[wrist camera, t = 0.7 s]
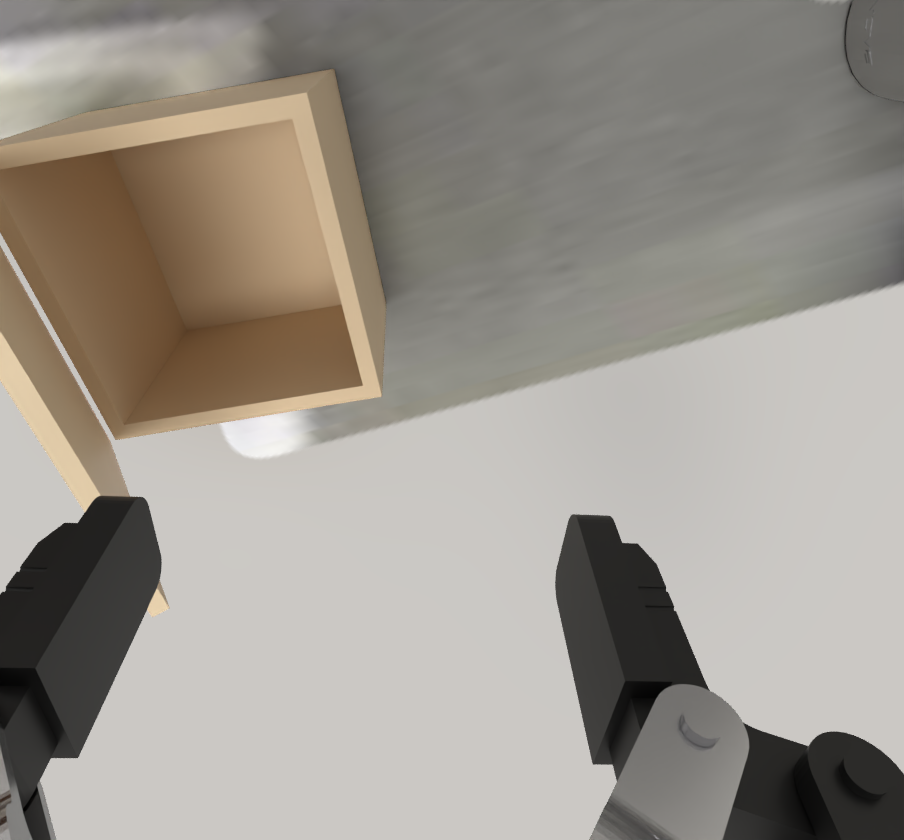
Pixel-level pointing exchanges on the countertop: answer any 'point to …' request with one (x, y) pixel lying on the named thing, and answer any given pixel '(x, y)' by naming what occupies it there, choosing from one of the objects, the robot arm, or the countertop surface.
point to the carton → (202, 253)
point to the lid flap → (55, 403)
